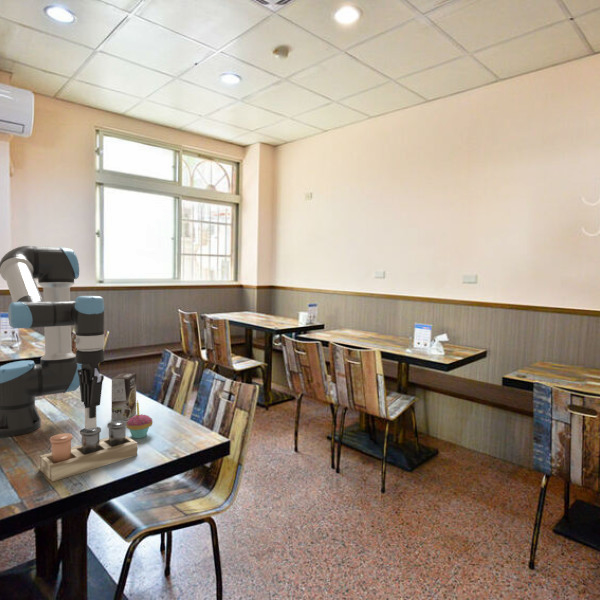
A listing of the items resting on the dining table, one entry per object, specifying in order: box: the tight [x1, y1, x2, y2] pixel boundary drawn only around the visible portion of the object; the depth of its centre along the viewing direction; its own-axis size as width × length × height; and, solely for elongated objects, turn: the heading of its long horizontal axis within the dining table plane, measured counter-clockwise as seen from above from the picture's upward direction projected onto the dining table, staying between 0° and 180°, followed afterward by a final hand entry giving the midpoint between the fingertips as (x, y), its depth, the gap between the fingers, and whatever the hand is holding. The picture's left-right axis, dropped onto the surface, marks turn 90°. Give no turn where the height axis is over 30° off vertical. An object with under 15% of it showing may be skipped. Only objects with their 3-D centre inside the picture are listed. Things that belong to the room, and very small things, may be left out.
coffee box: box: [111, 372, 137, 421], centre depth 166 cm, size 9×6×16 cm
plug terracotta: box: [49, 432, 74, 463], centre depth 121 cm, size 6×6×7 cm
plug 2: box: [106, 420, 127, 447], centre depth 133 cm, size 6×6×7 cm
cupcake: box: [126, 399, 154, 439], centre depth 148 cm, size 9×8×12 cm
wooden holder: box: [39, 435, 138, 483], centre depth 127 cm, size 10×24×4 cm, turn 138°
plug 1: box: [79, 426, 102, 455], centre depth 127 cm, size 6×6×7 cm
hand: (90, 427), depth 127 cm, fingers closed
